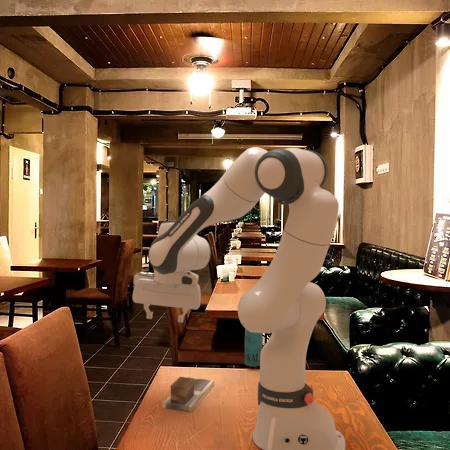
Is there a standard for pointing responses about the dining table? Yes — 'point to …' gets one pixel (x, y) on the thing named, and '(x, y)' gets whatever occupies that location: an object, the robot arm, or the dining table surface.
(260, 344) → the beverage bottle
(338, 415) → the dining table surface
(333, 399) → the dining table surface
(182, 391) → the block
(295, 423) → the robot arm
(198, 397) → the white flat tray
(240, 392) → the dining table surface
